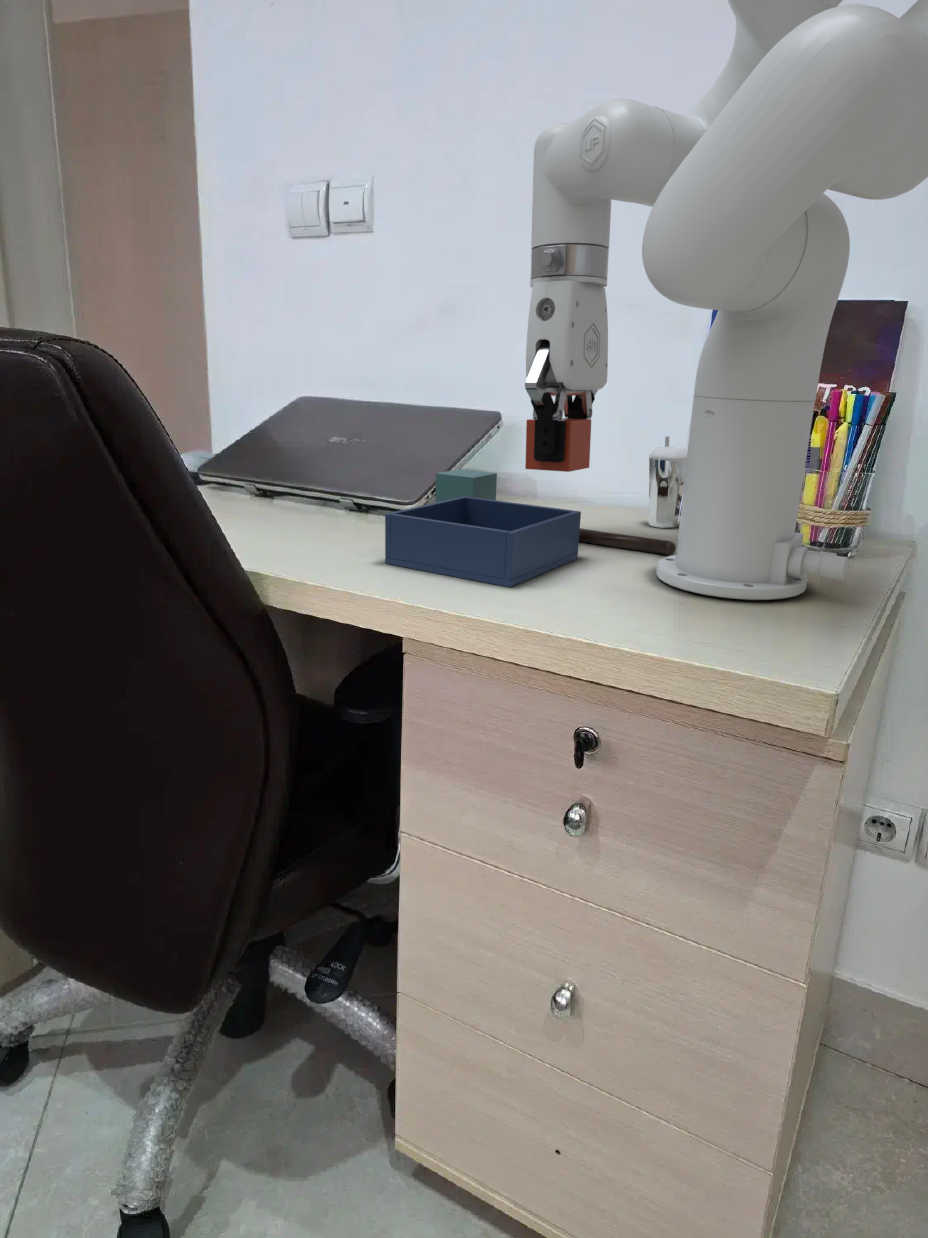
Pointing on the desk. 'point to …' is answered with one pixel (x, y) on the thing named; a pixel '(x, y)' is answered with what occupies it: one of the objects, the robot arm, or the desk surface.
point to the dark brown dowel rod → (627, 541)
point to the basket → (482, 539)
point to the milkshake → (666, 484)
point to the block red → (574, 447)
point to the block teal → (465, 484)
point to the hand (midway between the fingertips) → (561, 457)
